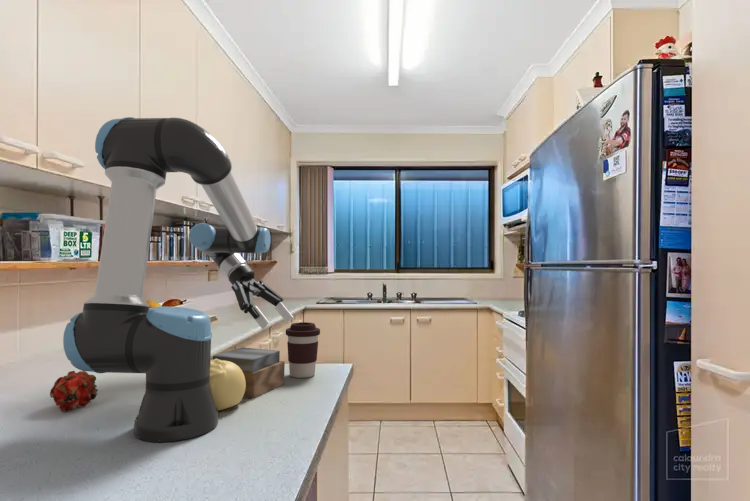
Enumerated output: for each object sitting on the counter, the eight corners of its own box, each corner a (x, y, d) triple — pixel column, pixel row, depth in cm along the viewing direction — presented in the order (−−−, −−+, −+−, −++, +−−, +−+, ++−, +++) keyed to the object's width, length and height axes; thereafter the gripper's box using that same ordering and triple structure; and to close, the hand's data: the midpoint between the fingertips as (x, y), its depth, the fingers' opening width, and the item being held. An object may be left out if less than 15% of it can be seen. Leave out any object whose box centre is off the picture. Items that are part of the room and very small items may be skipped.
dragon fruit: (82, 405, 104) (73, 430, 94) (47, 388, 101) (33, 412, 90) (107, 375, 106) (101, 396, 95) (73, 357, 102) (62, 377, 91)
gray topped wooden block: (253, 398, 106) (254, 361, 106) (206, 392, 110) (206, 356, 111) (284, 383, 119) (284, 350, 119) (240, 378, 123) (241, 346, 124)
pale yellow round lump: (181, 405, 100) (183, 358, 100) (233, 396, 108) (234, 351, 108) (198, 420, 91) (200, 367, 92) (253, 408, 99) (254, 360, 99)
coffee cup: (301, 381, 121) (302, 327, 122) (277, 375, 127) (278, 323, 128) (326, 374, 129) (327, 323, 130) (302, 369, 135) (303, 320, 136)
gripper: (253, 278, 150) (291, 325, 145) (203, 281, 127) (246, 337, 121) (267, 263, 149) (306, 310, 143) (218, 263, 125) (263, 319, 120)
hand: (278, 322), depth 132 cm, fingers open, 13 cm apart
